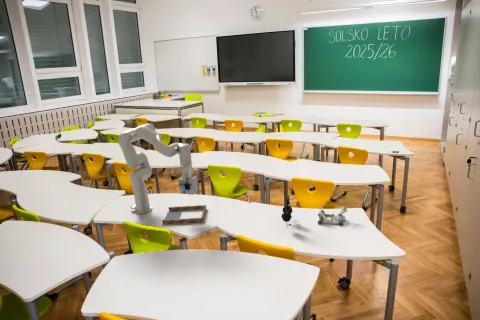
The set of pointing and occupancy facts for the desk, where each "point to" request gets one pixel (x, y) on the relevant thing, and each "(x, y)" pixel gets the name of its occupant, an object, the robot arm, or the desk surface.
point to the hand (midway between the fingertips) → (188, 187)
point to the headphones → (287, 212)
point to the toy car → (332, 217)
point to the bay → (174, 216)
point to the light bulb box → (192, 186)
